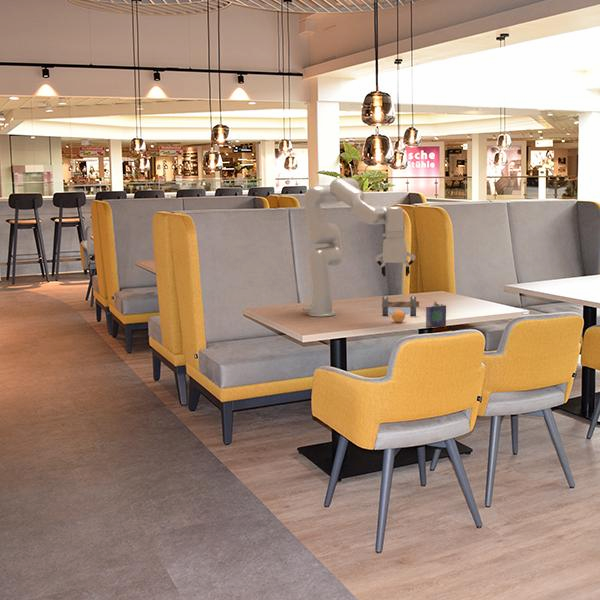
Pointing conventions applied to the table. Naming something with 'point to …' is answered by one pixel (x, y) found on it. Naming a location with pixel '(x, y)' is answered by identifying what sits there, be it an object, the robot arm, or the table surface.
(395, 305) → the stopper wall
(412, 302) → the post right
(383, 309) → the post left
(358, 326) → the table surface
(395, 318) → the ball
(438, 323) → the flask
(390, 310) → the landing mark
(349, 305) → the table surface
